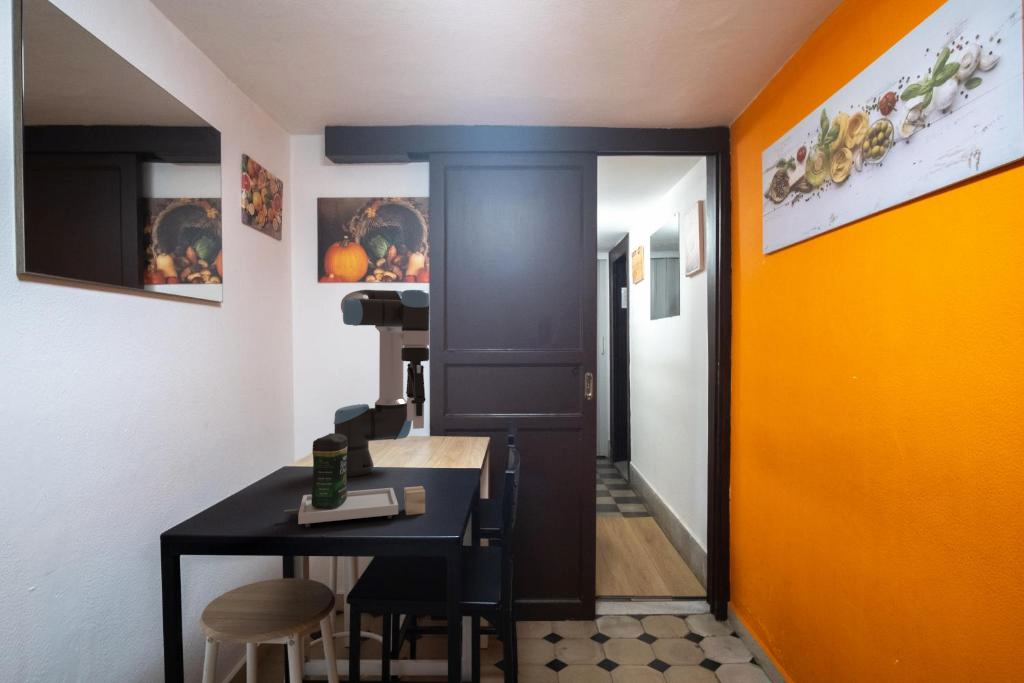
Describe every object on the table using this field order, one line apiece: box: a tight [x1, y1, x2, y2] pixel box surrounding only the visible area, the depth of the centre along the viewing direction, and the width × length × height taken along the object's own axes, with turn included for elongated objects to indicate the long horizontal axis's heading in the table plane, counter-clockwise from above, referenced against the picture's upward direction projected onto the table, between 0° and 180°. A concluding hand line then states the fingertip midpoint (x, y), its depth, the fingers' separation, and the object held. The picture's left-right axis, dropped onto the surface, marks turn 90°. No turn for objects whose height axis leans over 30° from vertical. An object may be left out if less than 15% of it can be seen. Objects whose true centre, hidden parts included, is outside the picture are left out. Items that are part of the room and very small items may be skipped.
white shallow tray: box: [283, 487, 399, 528], centre depth 134 cm, size 16×28×4 cm, turn 108°
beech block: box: [403, 485, 426, 516], centre depth 139 cm, size 5×5×6 cm
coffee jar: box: [311, 432, 348, 509], centre depth 135 cm, size 10×8×19 cm
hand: (415, 424), depth 138 cm, fingers open, 13 cm apart
